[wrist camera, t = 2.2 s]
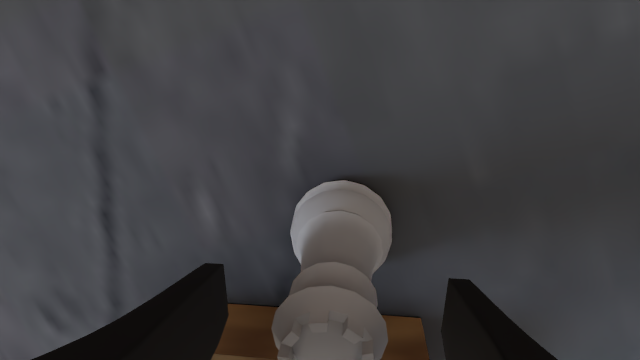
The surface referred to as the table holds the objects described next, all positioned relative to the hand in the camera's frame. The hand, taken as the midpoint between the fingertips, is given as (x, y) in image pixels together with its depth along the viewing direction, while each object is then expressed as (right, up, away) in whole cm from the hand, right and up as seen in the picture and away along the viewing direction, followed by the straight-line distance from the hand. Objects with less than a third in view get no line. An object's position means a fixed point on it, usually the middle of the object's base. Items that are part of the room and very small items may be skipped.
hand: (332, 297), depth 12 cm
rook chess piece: (+1, +2, +5) cm, 6 cm away
